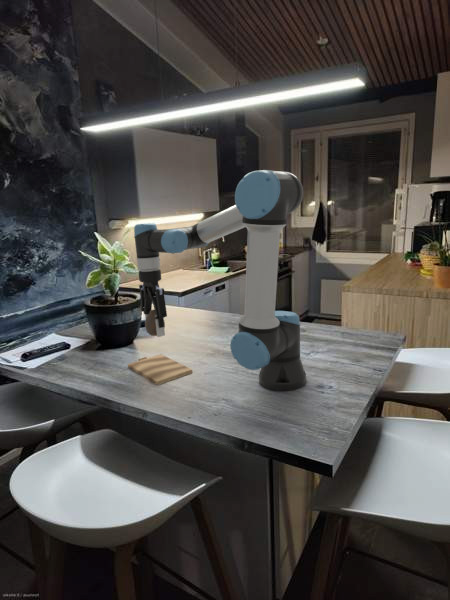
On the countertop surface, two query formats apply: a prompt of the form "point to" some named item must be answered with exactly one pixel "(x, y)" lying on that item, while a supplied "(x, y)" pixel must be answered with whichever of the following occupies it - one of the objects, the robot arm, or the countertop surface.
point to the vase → (151, 323)
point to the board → (159, 369)
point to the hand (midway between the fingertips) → (155, 333)
